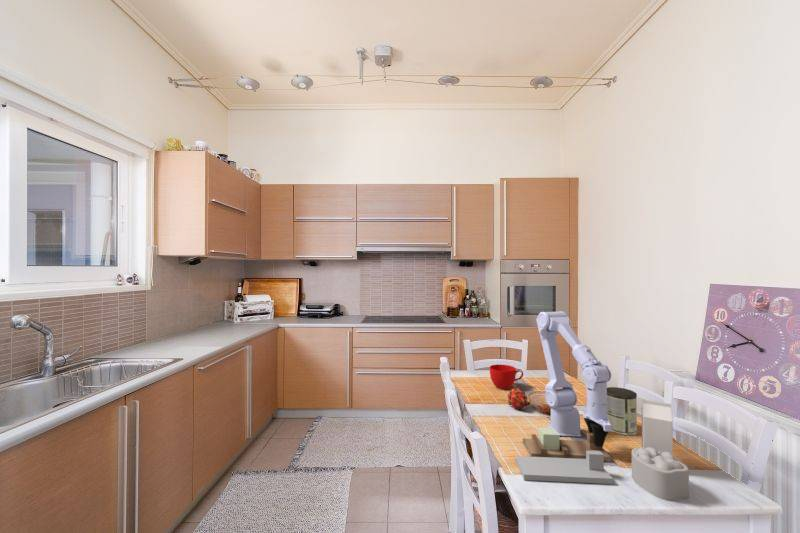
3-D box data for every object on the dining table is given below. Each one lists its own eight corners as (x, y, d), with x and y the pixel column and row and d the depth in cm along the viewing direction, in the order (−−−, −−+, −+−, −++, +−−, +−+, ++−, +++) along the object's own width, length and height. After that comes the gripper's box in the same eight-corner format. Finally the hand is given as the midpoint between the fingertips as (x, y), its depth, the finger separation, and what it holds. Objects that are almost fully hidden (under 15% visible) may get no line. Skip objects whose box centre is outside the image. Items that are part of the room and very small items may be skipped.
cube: (553, 443, 116) (553, 428, 117) (559, 450, 111) (559, 434, 112) (538, 442, 117) (538, 427, 117) (543, 449, 112) (543, 434, 112)
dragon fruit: (514, 405, 158) (524, 420, 146) (499, 395, 157) (508, 409, 145) (526, 391, 157) (536, 404, 145) (511, 380, 156) (521, 393, 144)
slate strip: (595, 464, 106) (595, 444, 106) (612, 484, 96) (612, 462, 96) (515, 460, 108) (515, 441, 108) (524, 479, 98) (524, 458, 98)
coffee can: (608, 420, 138) (608, 385, 138) (639, 428, 131) (639, 391, 131) (601, 429, 130) (601, 391, 130) (634, 438, 123) (633, 398, 123)
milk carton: (673, 473, 102) (672, 407, 102) (643, 466, 106) (642, 403, 106) (670, 461, 108) (669, 400, 108) (642, 455, 112) (641, 396, 112)
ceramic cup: (527, 391, 171) (527, 371, 171) (493, 391, 171) (493, 371, 172) (519, 383, 184) (518, 364, 184) (487, 383, 184) (487, 364, 185)
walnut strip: (595, 445, 118) (595, 427, 118) (610, 461, 108) (610, 442, 108) (522, 442, 120) (522, 425, 120) (531, 458, 110) (531, 439, 110)
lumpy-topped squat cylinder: (662, 502, 89) (661, 468, 89) (621, 473, 102) (620, 443, 102) (695, 497, 91) (695, 464, 91) (651, 469, 104) (650, 440, 104)
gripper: (574, 393, 121) (575, 433, 120) (594, 410, 106) (594, 455, 106) (595, 394, 120) (596, 434, 120) (618, 411, 106) (619, 456, 105)
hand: (597, 444), depth 113 cm, fingers closed on walnut strip, 2 cm apart
